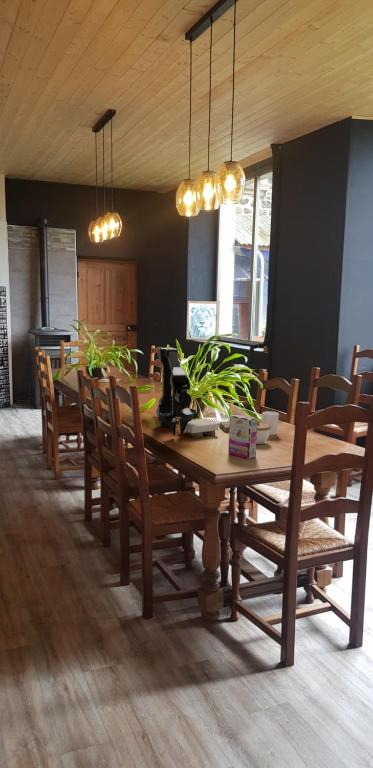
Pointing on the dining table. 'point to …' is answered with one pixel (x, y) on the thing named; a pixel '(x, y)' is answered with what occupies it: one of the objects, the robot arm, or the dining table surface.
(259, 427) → the lidded jar
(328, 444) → the dining table surface
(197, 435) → the bar
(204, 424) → the slab
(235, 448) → the candy bar box
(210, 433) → the rear sleeper
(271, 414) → the white cup
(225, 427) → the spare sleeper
